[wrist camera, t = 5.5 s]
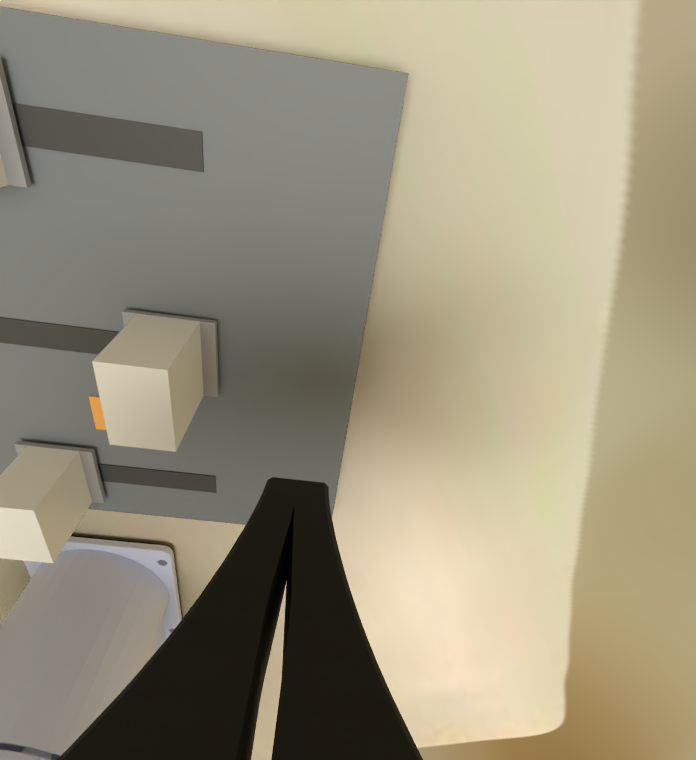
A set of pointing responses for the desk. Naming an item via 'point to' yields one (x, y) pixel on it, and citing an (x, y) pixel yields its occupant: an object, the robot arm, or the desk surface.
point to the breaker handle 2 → (45, 499)
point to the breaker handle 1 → (10, 142)
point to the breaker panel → (190, 248)
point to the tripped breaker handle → (156, 378)
